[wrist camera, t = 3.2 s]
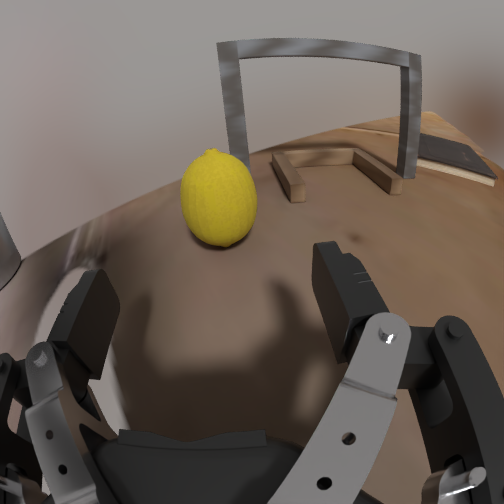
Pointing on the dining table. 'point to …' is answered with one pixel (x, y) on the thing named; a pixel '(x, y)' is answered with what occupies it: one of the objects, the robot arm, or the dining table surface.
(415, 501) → the dining table surface
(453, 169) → the hardcover book
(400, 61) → the keeper pocket
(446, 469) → the robot arm
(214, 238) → the lemon
